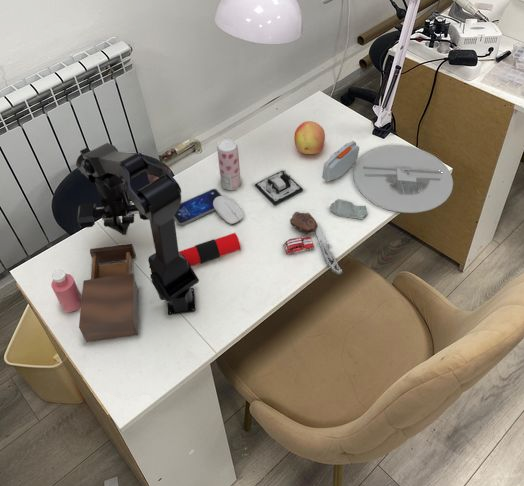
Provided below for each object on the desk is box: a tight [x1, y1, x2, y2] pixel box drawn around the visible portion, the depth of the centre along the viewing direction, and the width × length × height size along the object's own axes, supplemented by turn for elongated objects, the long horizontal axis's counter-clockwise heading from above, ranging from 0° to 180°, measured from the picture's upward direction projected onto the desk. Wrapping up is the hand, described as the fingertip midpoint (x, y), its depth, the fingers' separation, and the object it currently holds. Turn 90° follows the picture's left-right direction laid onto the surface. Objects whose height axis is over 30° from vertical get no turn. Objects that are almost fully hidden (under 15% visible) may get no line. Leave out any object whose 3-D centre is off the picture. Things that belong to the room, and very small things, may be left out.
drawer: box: [89, 242, 137, 279], centre depth 136 cm, size 13×10×5 cm
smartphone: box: [174, 188, 223, 227], centre depth 154 cm, size 7×1×15 cm
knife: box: [315, 223, 343, 276], centre depth 142 cm, size 2×18×3 cm
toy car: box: [282, 236, 315, 256], centre depth 142 cm, size 4×8×3 cm, turn 105°
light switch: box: [254, 170, 304, 206], centre depth 157 cm, size 10×4×10 cm
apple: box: [293, 120, 326, 155], centre depth 167 cm, size 10×10×10 cm
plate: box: [353, 144, 454, 214], centre depth 160 cm, size 28×28×1 cm
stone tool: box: [329, 198, 368, 220], centre depth 151 cm, size 10×2×5 cm
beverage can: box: [216, 138, 242, 191], centre depth 155 cm, size 6×6×15 cm
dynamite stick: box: [178, 232, 242, 267], centre depth 140 cm, size 5×5×20 cm
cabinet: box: [78, 273, 140, 343], centre depth 128 cm, size 13×12×7 cm
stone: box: [289, 211, 318, 235], centre depth 147 cm, size 7×7×3 cm
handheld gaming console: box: [321, 140, 360, 182], centre depth 160 cm, size 14×3×8 cm, turn 136°
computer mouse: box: [213, 195, 245, 224], centre depth 151 cm, size 6×10×3 cm, turn 39°
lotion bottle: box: [50, 268, 82, 313], centre depth 129 cm, size 5×5×12 cm
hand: (124, 233), depth 142 cm, fingers closed
